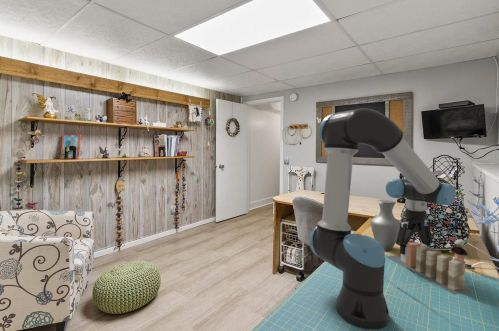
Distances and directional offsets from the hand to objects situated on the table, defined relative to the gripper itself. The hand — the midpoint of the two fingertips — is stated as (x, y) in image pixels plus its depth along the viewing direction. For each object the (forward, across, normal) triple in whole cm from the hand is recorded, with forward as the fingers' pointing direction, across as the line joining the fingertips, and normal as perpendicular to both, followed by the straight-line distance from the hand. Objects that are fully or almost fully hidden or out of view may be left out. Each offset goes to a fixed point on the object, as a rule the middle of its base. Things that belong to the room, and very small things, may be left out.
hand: (413, 260), depth 110 cm
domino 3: (+3, 0, -9) cm, 9 cm away
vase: (+4, +5, +22) cm, 23 cm away
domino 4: (+3, 0, -14) cm, 14 cm away
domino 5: (+3, 0, -18) cm, 18 cm away
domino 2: (+3, 0, -4) cm, 5 cm away
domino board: (+4, 0, -5) cm, 6 cm away
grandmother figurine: (+4, +20, -4) cm, 21 cm away
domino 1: (+3, 0, 0) cm, 3 cm away
